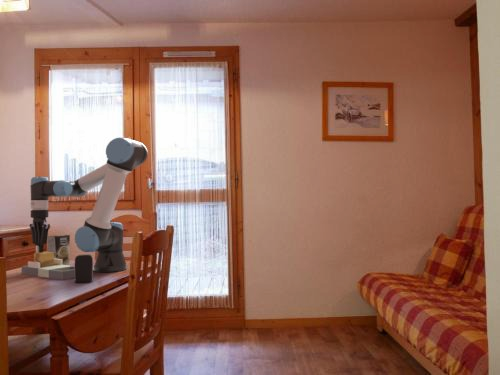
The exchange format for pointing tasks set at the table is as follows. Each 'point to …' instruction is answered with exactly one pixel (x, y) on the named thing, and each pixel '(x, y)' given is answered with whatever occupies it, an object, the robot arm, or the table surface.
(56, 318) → the table surface
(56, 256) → the coffee box
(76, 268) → the battery charger
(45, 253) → the block
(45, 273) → the tunnel deck
